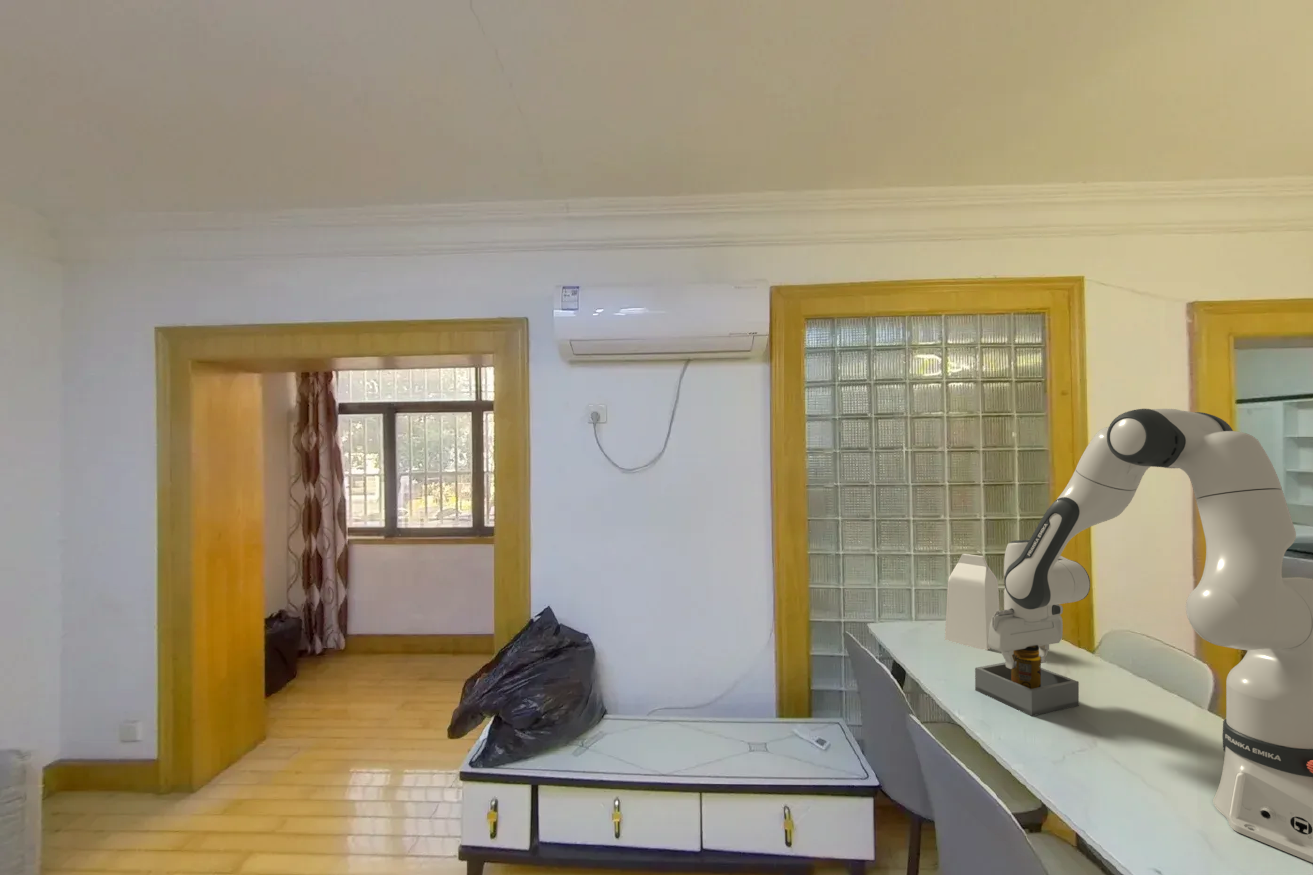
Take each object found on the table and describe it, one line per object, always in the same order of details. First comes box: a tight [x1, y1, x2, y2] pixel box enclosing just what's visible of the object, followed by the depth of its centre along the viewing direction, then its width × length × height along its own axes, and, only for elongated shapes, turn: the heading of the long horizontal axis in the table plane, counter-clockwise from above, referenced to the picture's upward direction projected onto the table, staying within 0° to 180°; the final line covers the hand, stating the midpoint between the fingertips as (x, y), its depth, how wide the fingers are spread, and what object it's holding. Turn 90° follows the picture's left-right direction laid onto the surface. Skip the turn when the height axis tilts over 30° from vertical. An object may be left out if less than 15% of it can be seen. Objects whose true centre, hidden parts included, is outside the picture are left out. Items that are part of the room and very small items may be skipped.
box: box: [974, 662, 1080, 717], centre depth 147 cm, size 15×15×6 cm
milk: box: [944, 553, 1000, 651], centre depth 187 cm, size 12×12×26 cm
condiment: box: [1011, 645, 1042, 689], centre depth 146 cm, size 7×8×12 cm
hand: (1025, 665), depth 147 cm, fingers open, 8 cm apart
